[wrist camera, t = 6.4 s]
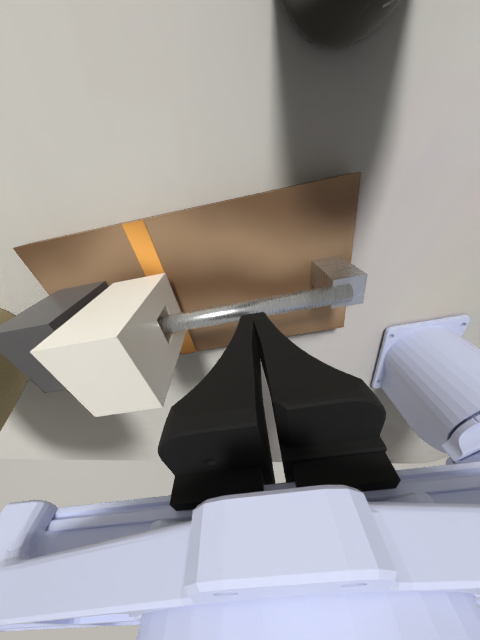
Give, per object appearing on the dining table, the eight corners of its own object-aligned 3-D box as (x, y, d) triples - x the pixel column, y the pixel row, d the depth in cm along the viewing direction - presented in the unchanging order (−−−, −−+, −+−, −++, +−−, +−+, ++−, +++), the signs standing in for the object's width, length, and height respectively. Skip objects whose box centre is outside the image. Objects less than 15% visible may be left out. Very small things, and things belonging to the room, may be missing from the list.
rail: (336, 279, 17) (368, 308, 13) (105, 321, 18) (70, 359, 14) (338, 255, 16) (374, 278, 12) (92, 301, 17) (50, 336, 13)
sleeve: (187, 328, 18) (162, 407, 11) (143, 335, 18) (95, 417, 12) (165, 272, 15) (116, 336, 9) (113, 283, 15) (29, 351, 9)
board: (336, 318, 21) (344, 327, 19) (111, 356, 22) (104, 367, 21) (349, 173, 14) (361, 172, 13) (30, 243, 16) (11, 248, 14)
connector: (134, 331, 19) (99, 384, 14) (94, 338, 19) (45, 392, 14) (105, 280, 16) (47, 323, 11) (58, 290, 16) (-19, 336, 11)
